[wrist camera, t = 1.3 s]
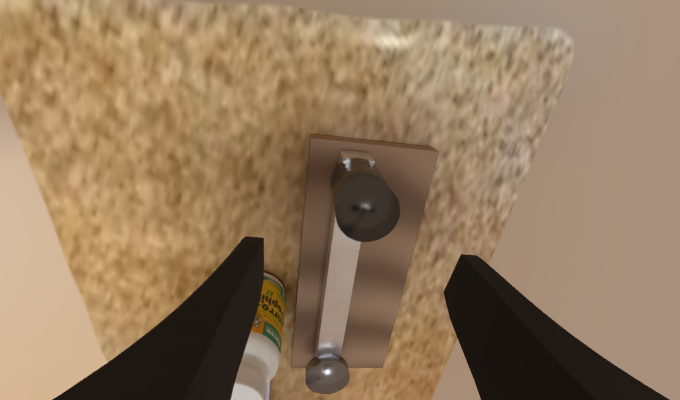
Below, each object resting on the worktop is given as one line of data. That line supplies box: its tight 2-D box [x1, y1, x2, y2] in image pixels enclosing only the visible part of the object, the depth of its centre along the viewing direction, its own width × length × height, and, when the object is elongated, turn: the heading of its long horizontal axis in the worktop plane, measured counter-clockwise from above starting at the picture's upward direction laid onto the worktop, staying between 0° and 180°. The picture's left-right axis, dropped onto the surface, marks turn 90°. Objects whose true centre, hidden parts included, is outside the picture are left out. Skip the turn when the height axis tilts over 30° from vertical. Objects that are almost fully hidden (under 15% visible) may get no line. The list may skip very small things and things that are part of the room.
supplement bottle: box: [231, 272, 286, 400], centre depth 22 cm, size 5×5×10 cm
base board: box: [291, 134, 439, 368], centre depth 25 cm, size 22×9×2 cm, turn 173°
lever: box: [306, 150, 400, 394], centre depth 21 cm, size 20×4×6 cm, turn 173°
